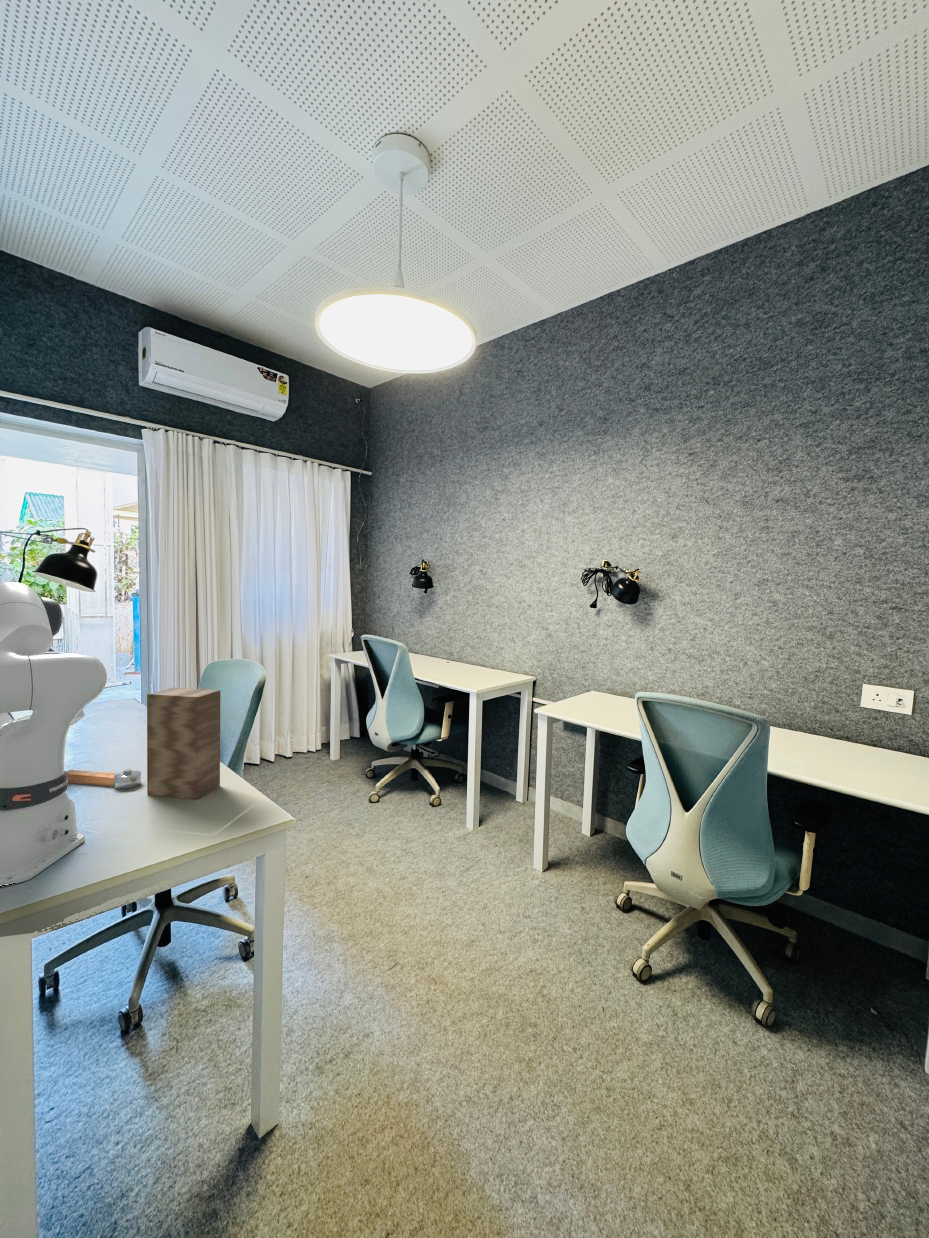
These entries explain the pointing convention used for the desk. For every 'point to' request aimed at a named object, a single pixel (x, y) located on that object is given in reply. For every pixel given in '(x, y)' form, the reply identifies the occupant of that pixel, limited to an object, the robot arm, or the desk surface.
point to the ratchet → (106, 778)
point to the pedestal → (183, 742)
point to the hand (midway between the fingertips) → (64, 710)
